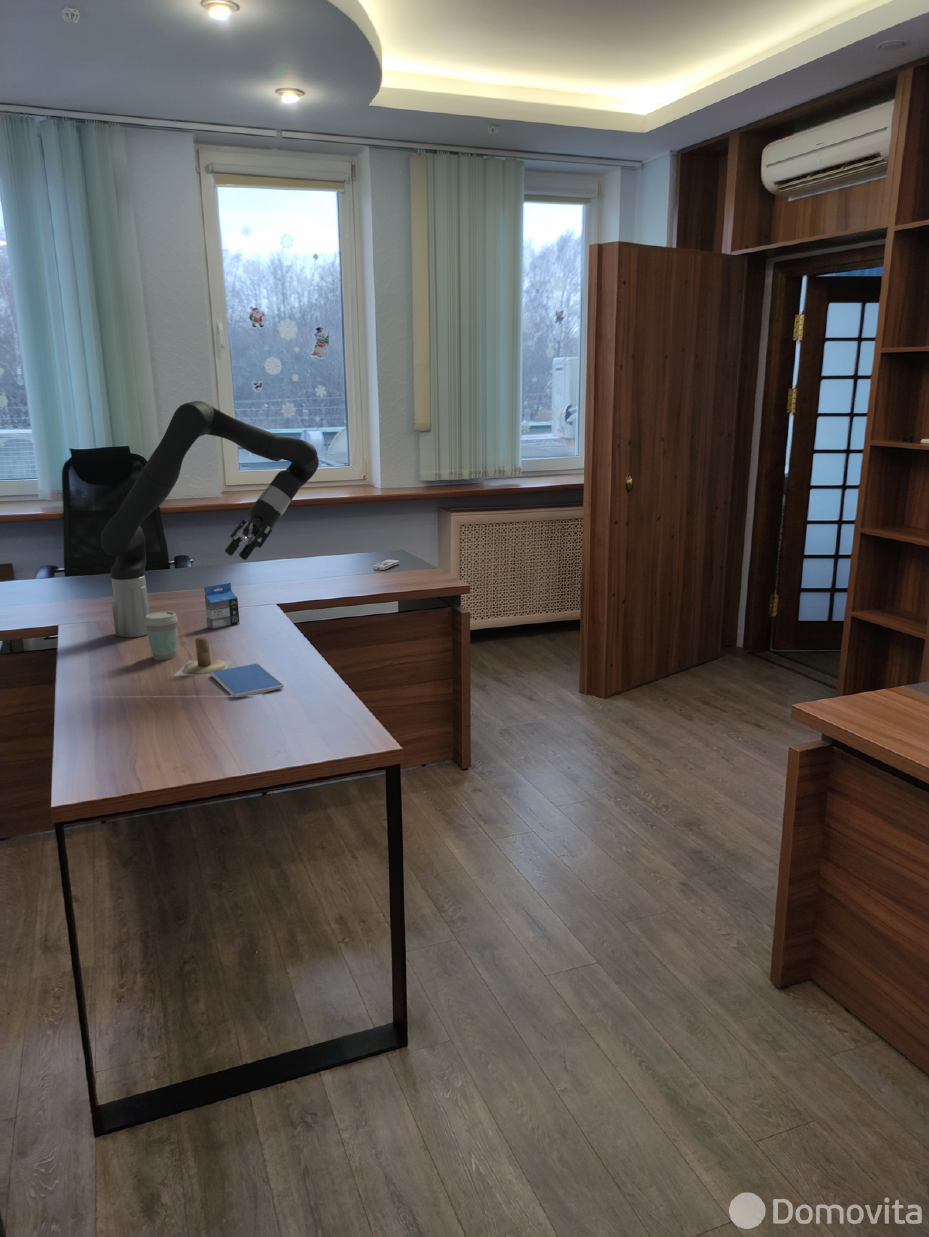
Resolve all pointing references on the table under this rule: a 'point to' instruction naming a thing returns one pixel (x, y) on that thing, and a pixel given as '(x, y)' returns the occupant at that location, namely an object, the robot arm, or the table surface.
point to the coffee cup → (162, 634)
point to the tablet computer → (246, 680)
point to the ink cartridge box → (221, 606)
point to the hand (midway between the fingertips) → (234, 555)
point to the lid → (203, 659)
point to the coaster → (183, 673)
